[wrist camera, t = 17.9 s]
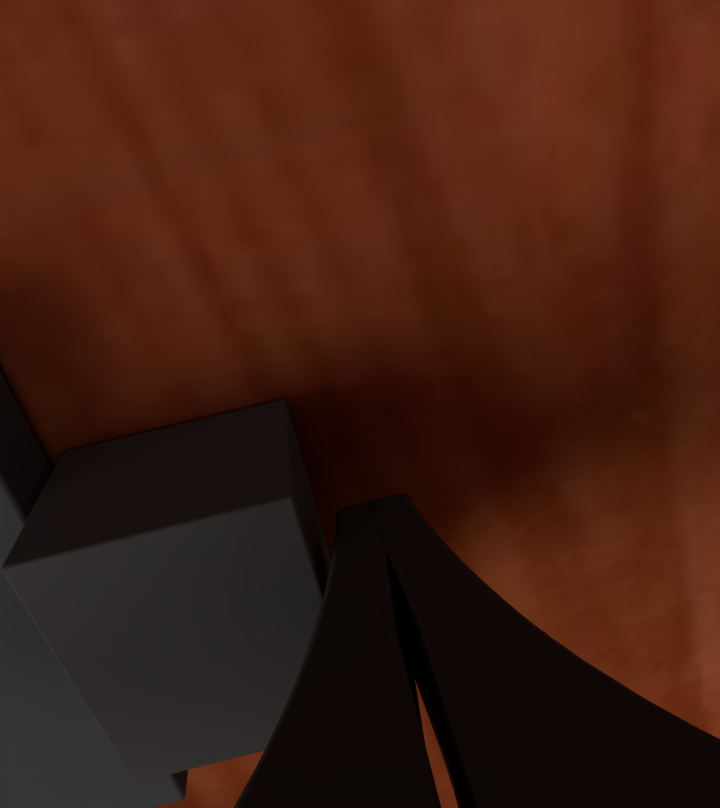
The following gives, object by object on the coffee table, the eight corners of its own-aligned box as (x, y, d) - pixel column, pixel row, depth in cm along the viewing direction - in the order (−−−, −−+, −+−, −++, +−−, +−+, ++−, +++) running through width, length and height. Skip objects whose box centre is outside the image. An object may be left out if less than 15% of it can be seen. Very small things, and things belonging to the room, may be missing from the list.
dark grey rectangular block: (285, 397, 11) (293, 497, 8) (342, 599, 13) (362, 726, 11) (61, 451, 11) (-2, 569, 8) (159, 645, 13) (134, 785, 11)
